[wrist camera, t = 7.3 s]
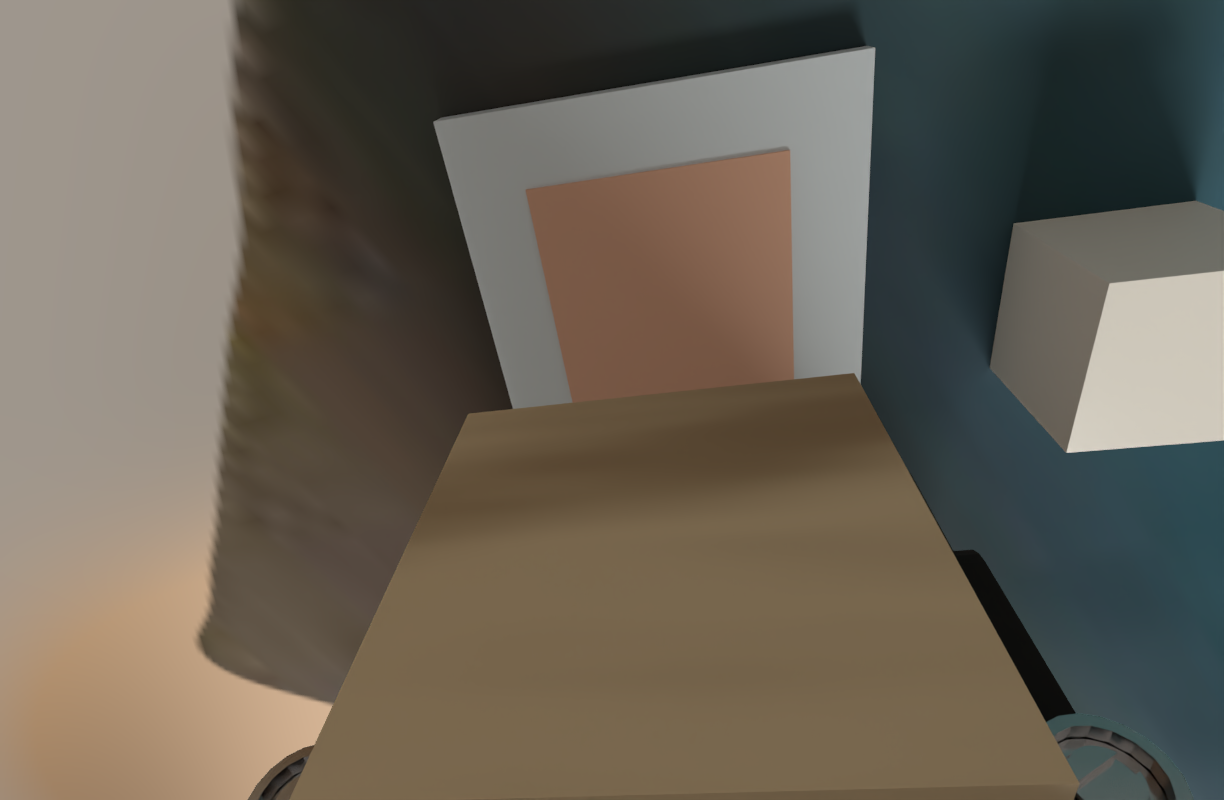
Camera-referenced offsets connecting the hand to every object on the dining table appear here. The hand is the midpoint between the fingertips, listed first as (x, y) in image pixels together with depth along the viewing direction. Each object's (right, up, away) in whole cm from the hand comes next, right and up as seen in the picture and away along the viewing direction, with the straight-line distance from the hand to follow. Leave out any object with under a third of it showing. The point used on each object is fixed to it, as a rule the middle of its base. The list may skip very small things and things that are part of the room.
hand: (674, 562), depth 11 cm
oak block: (0, 0, +1) cm, 1 cm away
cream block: (+14, +6, +10) cm, 18 cm away
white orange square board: (+1, +7, +10) cm, 12 cm away
